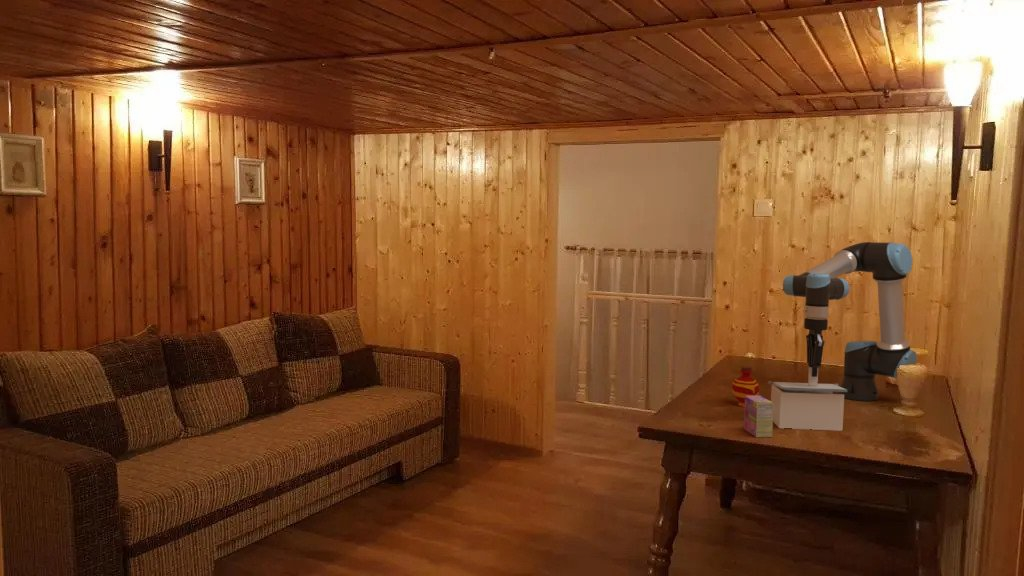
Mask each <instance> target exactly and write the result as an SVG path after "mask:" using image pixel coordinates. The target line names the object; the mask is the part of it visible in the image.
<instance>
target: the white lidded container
mask: <svg viewBox="0 0 1024 576" xmlns="http://www.w3.org/2000/svg"><path fill="white" fill-rule="evenodd" d="M833 384H834V385H837V386H839V387H840V384H839V383H833ZM767 385H770V386H771V393H770V401H771V402H773V424H775V425H776V427H777V428H779V429H784V428H792V430H810V429H812V431H813V430H814V431H815V430H816V431H817V430H818V431H840V432H841V431H842V432H843V428H844V427H843V425H844V408H845V407H844V406H845V398H844V394H838V393H833V392H827V391H799V390H783V389H781V388H779V387H777V386H775V385H774V384H773V381H772V380H771V381H769V380H768V381H767Z"/></svg>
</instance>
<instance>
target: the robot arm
mask: <svg viewBox="0 0 1024 576" xmlns="http://www.w3.org/2000/svg"><path fill="white" fill-rule="evenodd" d="M912 266H913V255H912V252H911V251H910V248H909V247H908V246H907V245H906V244H903V243H899V242H898V243H897V242H874V241H873V242H871V241H865V242H859V243H855V244H851V245H849V246H846V247H844V248H842V249H841V250H838V251H837V252H836V253H834V256H833V257H831V258H829V259H827V260H825V261H823V262H822V263H820V264H818V265H816V266H814V267H812V268H810V269H808V270H806V271H805V272H802V273H800V274H799V275H795V274H791V275H790V274H789V275H787V276H785V277H784V279H783V281H782V290H783V292H784V294H785V295H787V296H793V297H800V298H802V297H803V298H805V304H804V305H805V306H804V308H803V311H804V317H805V318H804V319H803V320H804V321H803V327H804V329H805V330H809V331H808V334H807V335H805V339H806V363H807V365H808V375H807V376H808V379H807V383H808V385H809V386H817V384H819V383H818V382H819V379H818V377H819V367H822V359H823V352H824V346H825V340H824V339H823V333H822V332H823V331H826V330H828V318H829V311H830V310H829V309H830V308H829V307H830V306H829V304H830V302H829V301H831V300H833V301H834V300H836V301H838V300H842V299H844V298H846V297H847V296H848V295H849V293H850V284H849V282H848V281H847V280H845V279H843V278H842V277H841V276H843V275H844V274H845V275H849V274H852V273H853V272H860V273H861V272H863V273H872V279H873V280H874V281H875V282H876V283H877V296H878V297H877V298H878V300H877V301H878V314H879V315H878V316H879V333H880V340H879V341H878V342H877V340H876V341H875V340H853V341H849V342H846V344H845V348H844V361H843V362H844V363H843V377H842V380H841V382H840V384H839V387H842V388H844V389H847V392H837V394H844V399H848V400H854V401H861V402H862V401H863V402H864V401H865V402H866V401H867V402H868V401H869V402H870V401H871V402H873V401H878V400H879V390H878V387H877V384H876V380H875V379H876V378H875V377H876V376H877V375H878V376H883V377H888V378H894V379H898V378H897V368H899V366H900V365H907V364H916V365H917V363H918V355H917V352H916V351H915V350H913V349H911V344H910V342H909V341H908V340H906V333H905V332H906V330H905V329H906V328H905V311H904V310H905V309H904V308H905V307H904V292H903V281H905V280H906V279H907V275H908V274H909V273H910V272H911V271H912V268H913V267H912ZM839 277H840V278H839Z"/></svg>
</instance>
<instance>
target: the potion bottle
mask: <svg viewBox="0 0 1024 576" xmlns="http://www.w3.org/2000/svg"><path fill="white" fill-rule="evenodd" d="M740 367H741V369H740V373H742V375H741V376H739V377H738V378H735V379H734V380H733V381H732V382H731V384H732V386H731V387H730V389H731V393H732V394H733V396H734V397H735V398H736V399H737V400H738V401H739V402H738V403H737V405H738V407H744V408H745V396H760V385H759V383H758V382H757V379H756V378H754V377H752V376H751V374H752V373H753V370H752V369H753V367H752V366H750V365H749V366H748V365H741V366H740Z"/></svg>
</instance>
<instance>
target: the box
mask: <svg viewBox="0 0 1024 576" xmlns="http://www.w3.org/2000/svg"><path fill="white" fill-rule="evenodd" d="M743 417H744V420H743V422H744V424H743V430H744V431H746V432H747V433H749V434H751V435H752V436H753V437H755V438H772V437H773V424H774V422H773V402H771V400H769V399H767V398H765V397H764V396H762V395H758V396H745V407H744V416H743Z"/></svg>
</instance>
